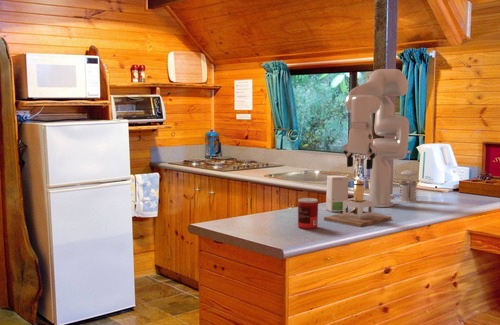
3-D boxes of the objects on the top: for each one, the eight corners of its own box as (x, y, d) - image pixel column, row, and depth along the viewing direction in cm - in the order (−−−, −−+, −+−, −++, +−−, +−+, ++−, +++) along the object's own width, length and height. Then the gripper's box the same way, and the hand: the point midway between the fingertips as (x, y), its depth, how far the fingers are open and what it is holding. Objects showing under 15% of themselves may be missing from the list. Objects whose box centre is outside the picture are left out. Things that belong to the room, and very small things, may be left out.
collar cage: (355, 213, 256) (356, 198, 255) (373, 217, 249) (373, 200, 249) (342, 216, 250) (342, 200, 249) (360, 219, 243) (360, 203, 242)
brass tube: (356, 215, 252) (358, 180, 251) (364, 217, 249) (366, 181, 248) (350, 216, 250) (352, 180, 248) (358, 218, 247) (360, 181, 245)
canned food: (315, 225, 238) (316, 197, 237) (318, 229, 230) (319, 201, 229) (296, 225, 238) (297, 197, 237) (299, 229, 230) (299, 201, 229)
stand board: (356, 213, 264) (356, 210, 264) (391, 219, 251) (391, 216, 251) (324, 219, 249) (324, 217, 248) (359, 226, 236) (359, 223, 235)
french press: (416, 199, 301) (418, 149, 299) (420, 203, 290) (422, 151, 287) (396, 199, 302) (397, 149, 299) (399, 203, 291) (401, 151, 288)
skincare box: (330, 212, 266) (331, 177, 264) (325, 209, 272) (325, 175, 271) (348, 211, 268) (349, 176, 266) (342, 208, 274) (343, 174, 273)
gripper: (383, 126, 242) (382, 169, 244) (348, 124, 254) (348, 165, 257) (372, 127, 237) (371, 170, 239) (337, 125, 249) (337, 166, 251)
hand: (359, 167), depth 248 cm, fingers open, 9 cm apart
